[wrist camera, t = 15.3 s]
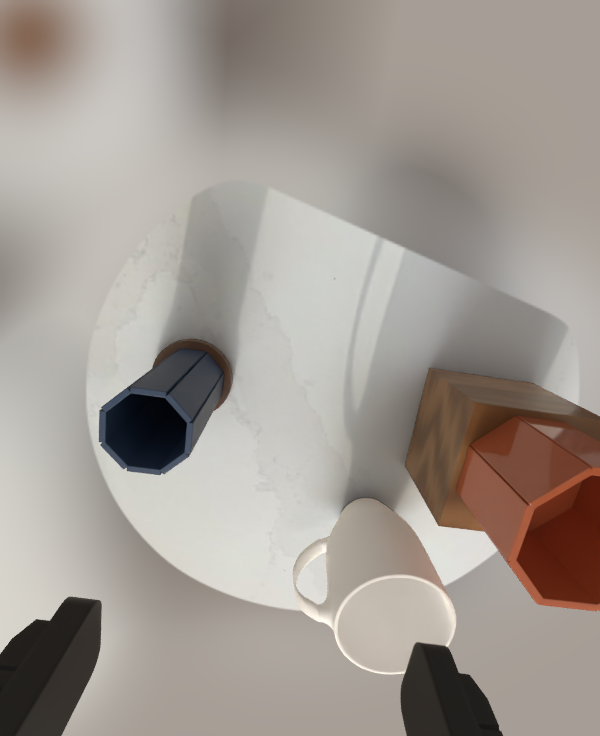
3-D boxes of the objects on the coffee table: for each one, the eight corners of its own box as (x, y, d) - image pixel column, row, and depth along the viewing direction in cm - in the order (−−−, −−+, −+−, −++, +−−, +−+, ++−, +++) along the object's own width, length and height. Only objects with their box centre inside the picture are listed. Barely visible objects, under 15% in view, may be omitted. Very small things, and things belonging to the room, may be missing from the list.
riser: (428, 367, 35) (474, 402, 26) (533, 383, 36) (611, 421, 27) (404, 465, 38) (438, 526, 29) (502, 478, 38) (564, 541, 29)
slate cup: (161, 344, 33) (99, 382, 23) (226, 354, 33) (196, 396, 23) (157, 405, 35) (98, 467, 24) (219, 413, 35) (188, 479, 24)
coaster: (156, 333, 34) (153, 335, 33) (236, 345, 34) (235, 346, 33) (152, 407, 35) (149, 410, 35) (228, 417, 36) (226, 421, 35)
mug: (405, 476, 38) (455, 569, 26) (410, 551, 40) (458, 667, 29) (287, 491, 38) (286, 590, 26) (299, 564, 40) (302, 685, 29)
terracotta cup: (479, 409, 26) (543, 459, 20) (602, 427, 27) (705, 481, 20) (446, 521, 29) (493, 600, 22) (560, 535, 29) (640, 616, 23)
